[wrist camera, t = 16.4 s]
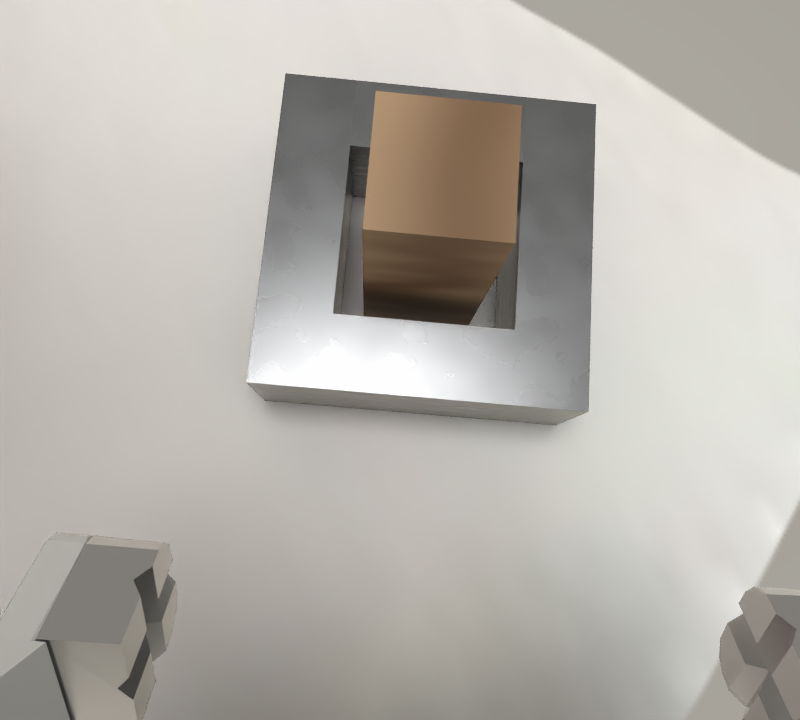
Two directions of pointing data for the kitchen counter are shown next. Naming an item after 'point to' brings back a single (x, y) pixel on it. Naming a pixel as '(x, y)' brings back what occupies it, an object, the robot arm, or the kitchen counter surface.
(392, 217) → the walnut key peg
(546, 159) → the steel socket
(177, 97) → the kitchen counter surface
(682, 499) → the kitchen counter surface
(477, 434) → the kitchen counter surface
